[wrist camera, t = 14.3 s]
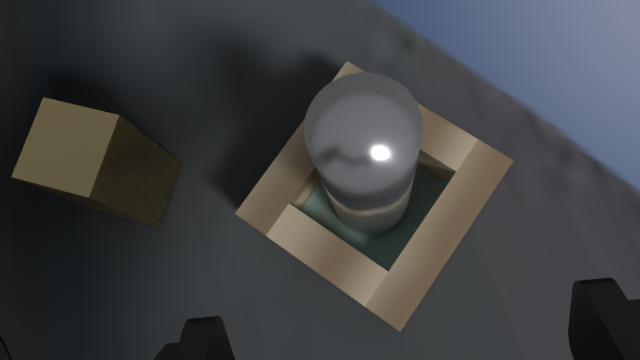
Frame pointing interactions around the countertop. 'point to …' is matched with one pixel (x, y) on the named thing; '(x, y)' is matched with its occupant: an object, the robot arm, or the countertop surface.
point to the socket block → (390, 248)
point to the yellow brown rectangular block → (97, 162)
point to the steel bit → (365, 149)
